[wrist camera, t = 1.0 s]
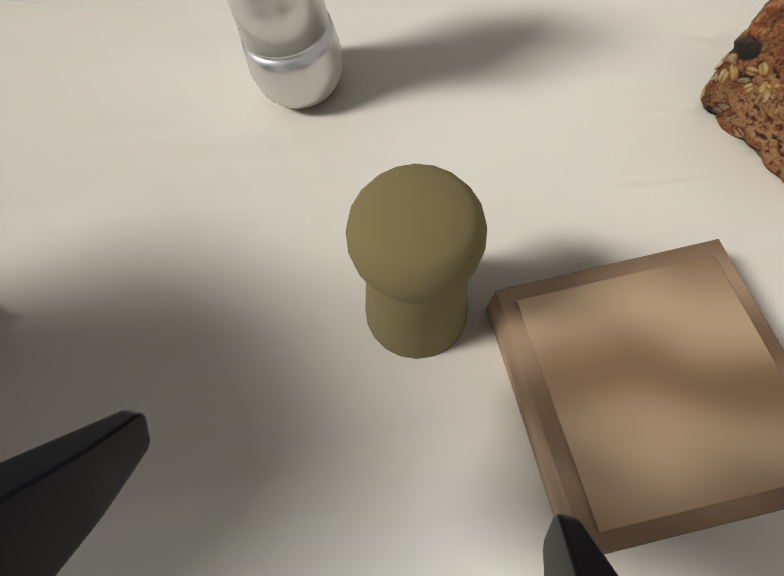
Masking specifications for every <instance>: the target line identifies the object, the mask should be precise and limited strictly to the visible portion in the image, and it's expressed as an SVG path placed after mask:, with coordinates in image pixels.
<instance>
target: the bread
mask: <svg viewBox="0 0 784 576" xmlns="http://www.w3.org/2000/svg"><path fill="white" fill-rule="evenodd" d="M714 70H716V72H715V73H714V75H713V76H712V78H711V79H710V81H709V82H708V83H707V84H706V85H705V87H704V89H703V91H702V93H701V97H700V99H701V101H702V104H703V107H704V108H705V109H706V110H708V111H711V112H713V113H716V115H715V117H716V119H717V121H718V123H719V125H720V127H721V128H722V129H723V130H724V131H726V132H727V133H729V134H730V135H733V136H737V137H741V138H743V139H744V140H745V142H746V143H747V144H748V145H750V146H751V147H753V148H754V149H755V151H756V152H757V153H758V154H759V156H760V157H761V159H762V161H763V163H764V165H765V166H766V168H767V169H768V170H769V171H770V172H772V173H774V174H775V175H777V176H778V177H780V178H781V179H782V181H783V182H784V0H770V1H768V2H767V3H766V4H765V5H764V7H763V8H762V10H761V11H760V12H759V13H758V15H757V16H756V17H755V18H754V19H753V21H752V22H751V25H750V26H749V28H748V29H747V30H745V31H744V32H743V33H742V34H741V35H740V36H739V37H738V38H737V39H736V40H735V41H734V48H733V50H732V51H730V52H729V53H728V54H727V55H726V56H725V57H724V58H723V59H722V60H721V61H720V62H719V63H718V65H717V66H716V67H715V68H714Z"/></svg>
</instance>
